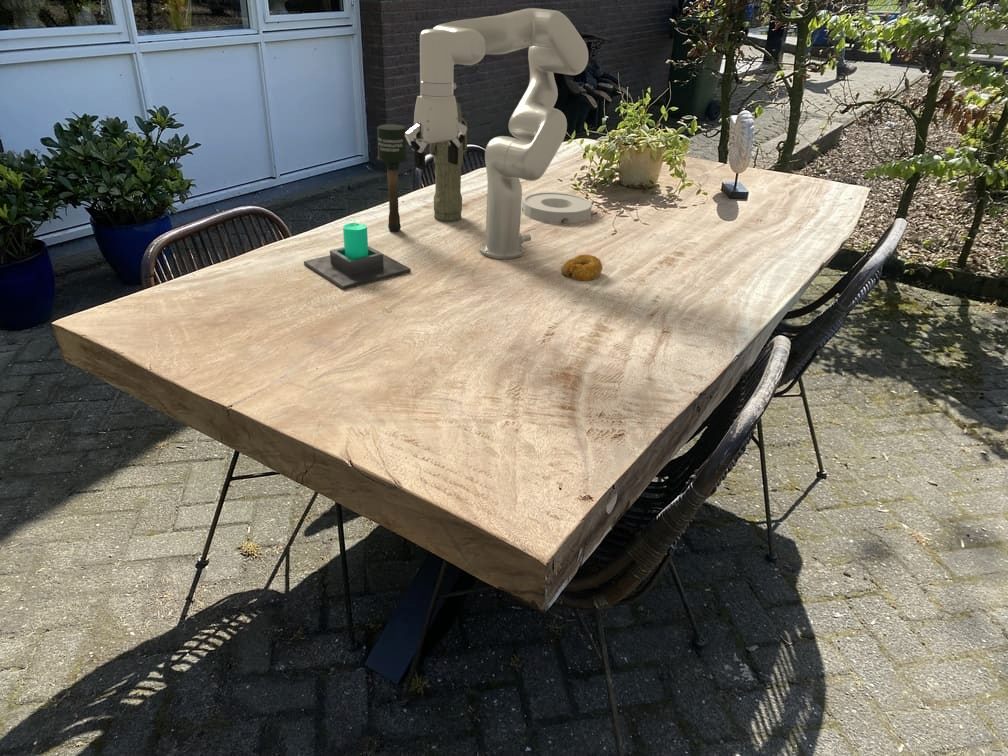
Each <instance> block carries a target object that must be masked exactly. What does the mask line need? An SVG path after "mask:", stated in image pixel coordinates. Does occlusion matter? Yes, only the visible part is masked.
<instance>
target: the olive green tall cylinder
mask: <svg viewBox="0 0 1008 756" xmlns="http://www.w3.org/2000/svg"><path fill="white" fill-rule="evenodd" d="M456 105H457V114H458V122H459V123H461V124H463V125H465V126H466V127H467V128H468V122H467V120H466V119H465V118H463V117H462V109H461V105H460V103H459V102H457V101H456ZM458 132H459V129H458ZM428 144H429V155H431V156H433V162H434V165H435V167H434V169H435V175H434V176H435V185H434V186H435V187H434V189H435V191H434V192H435V193H434V196H433V210H434V211H433V212H434V215H433V218H434V220H436V221H438V222H443V223H444V222H445V223H456V222H458V221H460V220H462V210H463V196H462V193H461V185H462V184H461V183H462V180H461V179H462V176H461V175H462V164H463V160H464V154H465V153H466V152H467V151H468V130H467V131H466V133H465V135H464V140H463V141H462V142H461V146H460V147H459V148H458V164H457V165H454V164H452V163H449V162H448V146H449V145H450V143H449V142H448V141H445V142H437V143H428Z"/></svg>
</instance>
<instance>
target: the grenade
mask: <svg viewBox="0 0 1008 756" xmlns="http://www.w3.org/2000/svg"><path fill="white" fill-rule="evenodd" d="M406 130H407V129H406V127H405V126H404V125H402V124H400V125H399V124H395V123H394V124H393V123H391V124H387V123H386V124H380V125H378V126H377V131H376V133H377V153H378V154H377V157H376V159H377V161H379V162H380V163H381V162H382V163H385V164H386V170H387V173H386V174H387V185H388V202H389V203H388V204H389V205H388V208H389V209H388V210H389V213H388V226H387V227H388V230H389V231H390V232H392V233H393V232H394V233H397V232H400V231H401V227H402V225H401V218H400V217H401V216H400V213H399V178H400V177H399V167H400V166H399V164H401V163H405V162H408V160H409V159H408V156H407V139H406V137H405V133H406V132H407V131H406Z"/></svg>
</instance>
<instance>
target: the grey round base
mask: <svg viewBox="0 0 1008 756" xmlns="http://www.w3.org/2000/svg"><path fill="white" fill-rule="evenodd" d="M592 206H593V204H592V201H591V200H589V199H587V198H585V197H583V196H581V195H577V194H573V193H569V192H559V191H541V192H533V193H529V194H527V195H525V196H523V197H522V202H521V212H523V213H522V214H523V215H524V216H525V217H527V218H529V219H532V220H534V221H538V222H543V223H549V224H562V222H563V223H567V224H576V223H581V222H585V221H587V220H589V219H590V218H591V214H592Z"/></svg>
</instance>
